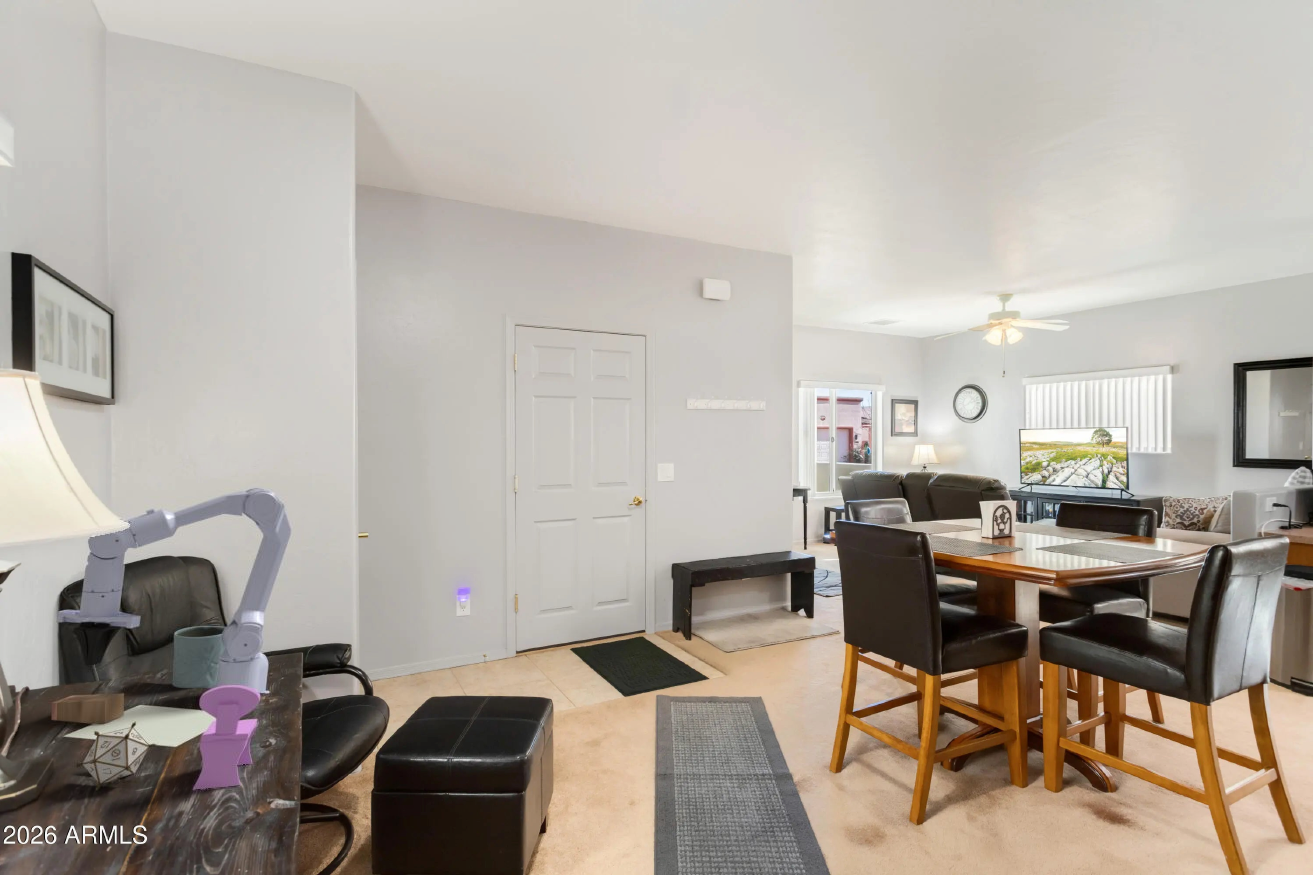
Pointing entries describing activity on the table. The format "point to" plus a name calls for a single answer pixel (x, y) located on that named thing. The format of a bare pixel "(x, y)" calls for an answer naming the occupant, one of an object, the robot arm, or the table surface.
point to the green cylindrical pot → (197, 656)
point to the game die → (115, 755)
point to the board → (154, 725)
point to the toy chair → (226, 734)
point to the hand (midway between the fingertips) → (93, 663)
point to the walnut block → (89, 708)
